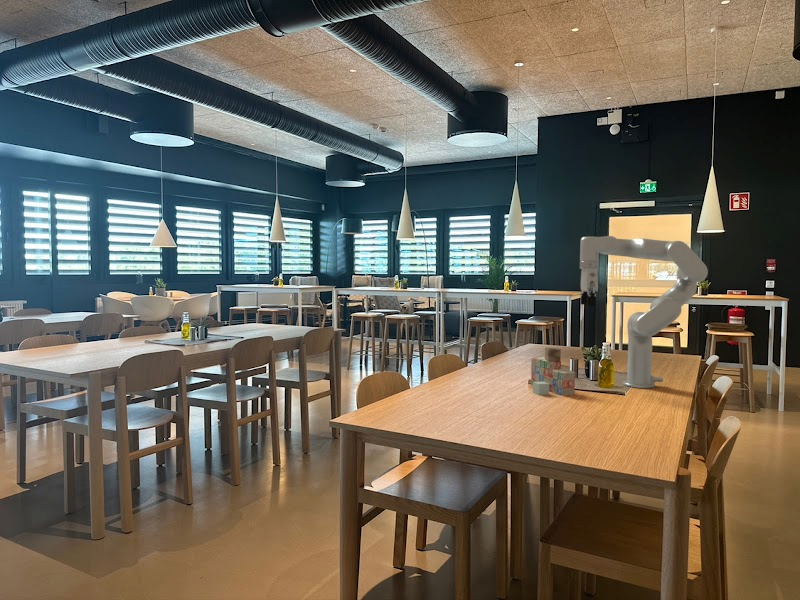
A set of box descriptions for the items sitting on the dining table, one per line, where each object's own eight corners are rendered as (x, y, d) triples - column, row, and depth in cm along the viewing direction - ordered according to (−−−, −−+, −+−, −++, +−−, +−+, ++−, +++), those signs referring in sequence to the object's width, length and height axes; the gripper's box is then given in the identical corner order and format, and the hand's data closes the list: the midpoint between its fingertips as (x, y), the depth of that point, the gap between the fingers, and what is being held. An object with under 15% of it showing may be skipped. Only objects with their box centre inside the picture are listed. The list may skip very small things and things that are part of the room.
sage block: (542, 392, 228) (542, 381, 228) (548, 394, 224) (548, 383, 224) (532, 393, 227) (532, 381, 227) (538, 395, 223) (539, 384, 222)
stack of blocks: (574, 395, 224) (575, 364, 223) (561, 396, 222) (562, 365, 221) (542, 384, 244) (543, 356, 243) (530, 385, 242) (531, 357, 241)
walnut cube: (556, 359, 235) (557, 347, 235) (560, 361, 230) (560, 349, 230) (544, 359, 235) (545, 347, 235) (548, 361, 230) (548, 349, 230)
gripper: (604, 265, 234) (603, 306, 235) (591, 265, 251) (590, 304, 252) (586, 265, 234) (585, 306, 235) (574, 265, 252) (573, 303, 253)
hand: (587, 305), depth 244 cm, fingers open, 9 cm apart
